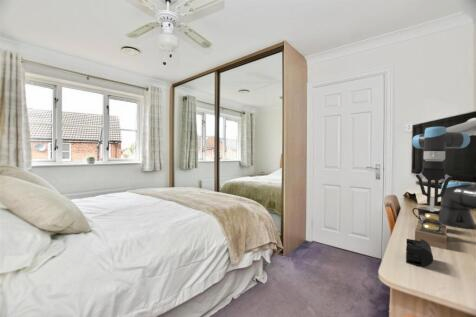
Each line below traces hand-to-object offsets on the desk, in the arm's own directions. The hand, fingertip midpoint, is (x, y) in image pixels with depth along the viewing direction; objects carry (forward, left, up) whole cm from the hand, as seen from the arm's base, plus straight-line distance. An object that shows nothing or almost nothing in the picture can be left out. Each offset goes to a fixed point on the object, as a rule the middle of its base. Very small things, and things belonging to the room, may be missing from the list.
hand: (431, 210), depth 104 cm
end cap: (+32, +16, -12) cm, 38 cm away
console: (+5, +3, -12) cm, 13 cm away
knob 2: (+9, +6, -7) cm, 13 cm away
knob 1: (0, 0, -4) cm, 4 cm away
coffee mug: (-11, -9, -12) cm, 19 cm away
